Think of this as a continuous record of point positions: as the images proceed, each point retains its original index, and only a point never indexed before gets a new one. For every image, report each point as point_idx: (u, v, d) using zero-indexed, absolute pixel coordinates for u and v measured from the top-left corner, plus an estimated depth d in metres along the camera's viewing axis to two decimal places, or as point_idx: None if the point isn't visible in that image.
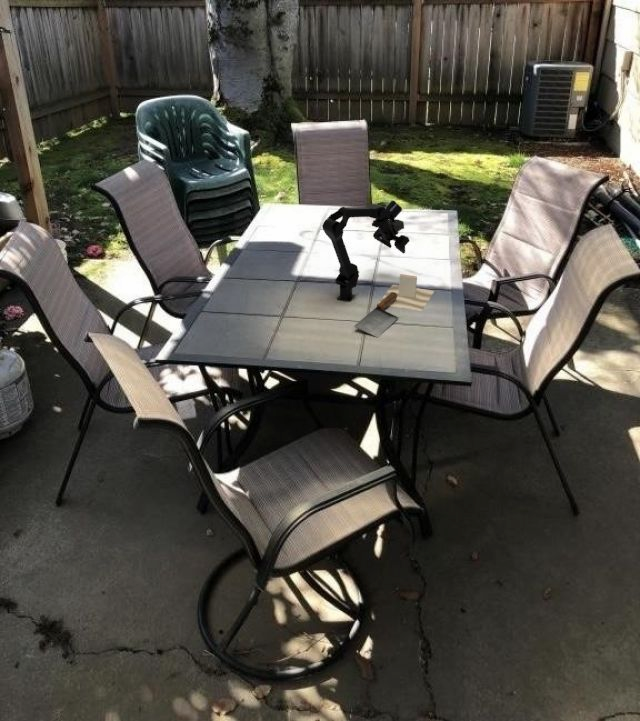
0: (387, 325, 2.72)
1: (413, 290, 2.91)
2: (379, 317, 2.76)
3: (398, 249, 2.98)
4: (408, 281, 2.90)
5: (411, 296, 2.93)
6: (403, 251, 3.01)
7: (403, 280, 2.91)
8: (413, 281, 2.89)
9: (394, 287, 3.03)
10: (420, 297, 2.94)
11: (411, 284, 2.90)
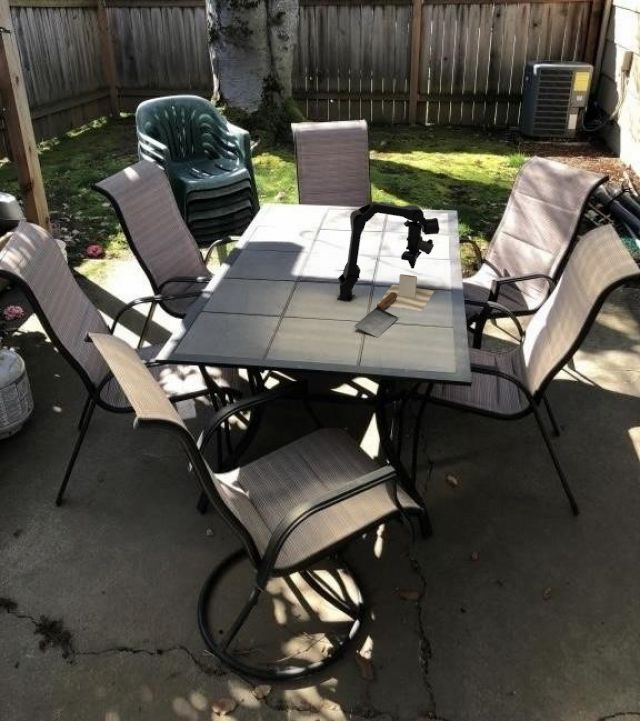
0: (387, 325, 2.72)
1: (413, 290, 2.91)
2: (379, 317, 2.76)
3: None
4: (408, 281, 2.90)
5: (411, 296, 2.93)
6: (411, 265, 2.94)
7: (403, 280, 2.91)
8: (413, 281, 2.89)
9: (394, 287, 3.03)
10: (420, 297, 2.94)
11: (411, 284, 2.90)
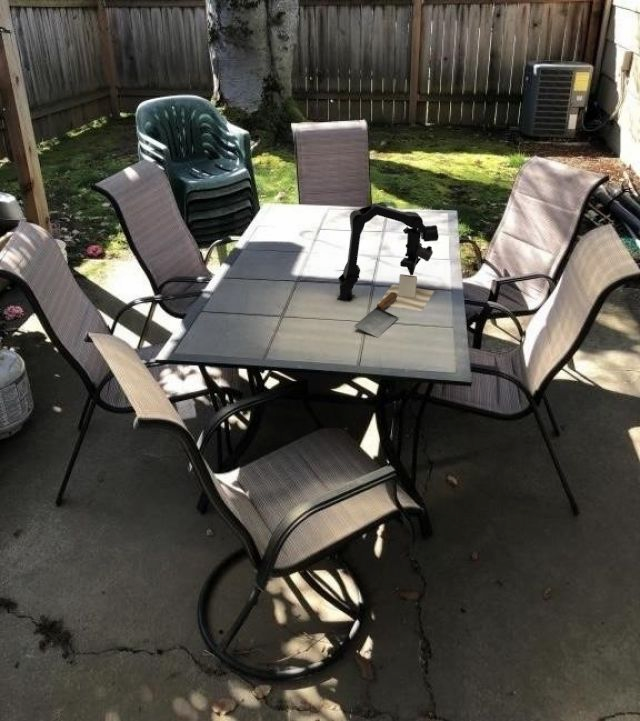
0: (387, 325, 2.72)
1: (413, 290, 2.91)
2: (379, 317, 2.76)
3: None
4: (408, 281, 2.90)
5: (411, 296, 2.93)
6: (410, 272, 2.94)
7: (403, 280, 2.91)
8: (413, 281, 2.89)
9: (394, 287, 3.03)
10: (420, 297, 2.94)
11: (411, 284, 2.90)
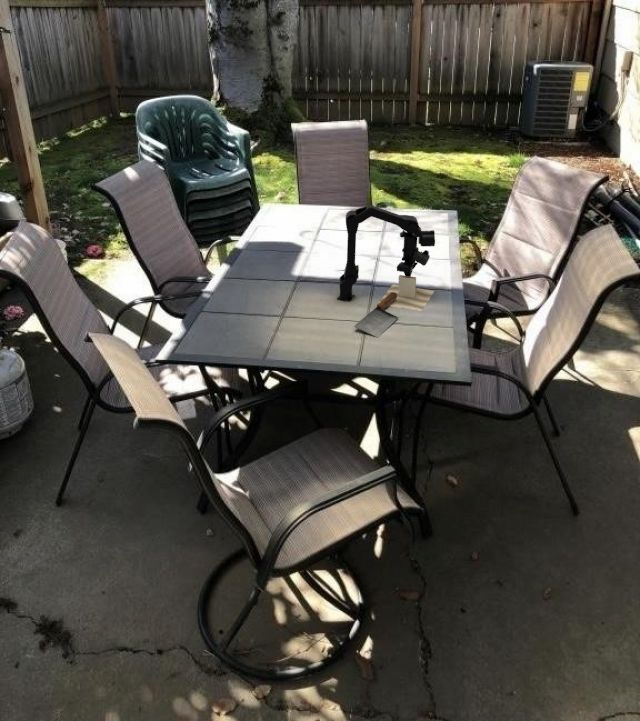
0: (387, 325, 2.72)
1: (413, 291, 2.91)
2: (379, 317, 2.76)
3: None
4: (407, 282, 2.89)
5: (411, 296, 2.93)
6: None
7: (402, 281, 2.90)
8: (412, 282, 2.88)
9: (394, 287, 3.03)
10: (420, 297, 2.94)
11: (410, 285, 2.90)
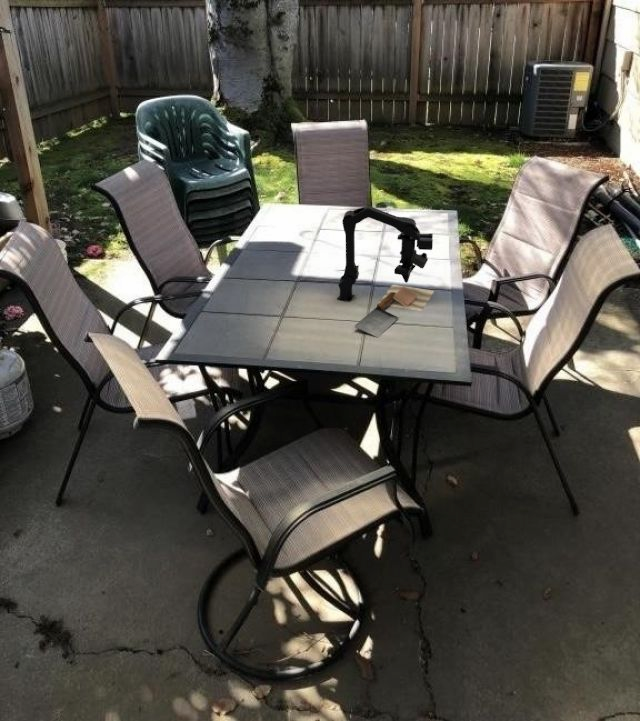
0: (387, 325, 2.72)
1: None
2: (380, 317, 2.76)
3: None
4: None
5: None
6: (405, 279, 2.88)
7: None
8: None
9: (394, 287, 3.03)
10: (420, 297, 2.94)
11: None
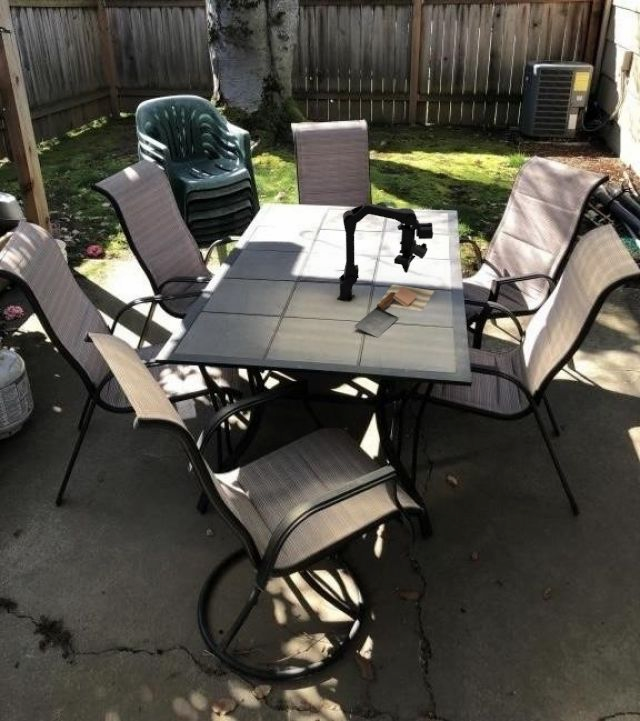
0: (387, 325, 2.72)
1: None
2: (380, 317, 2.76)
3: None
4: None
5: None
6: (404, 269, 2.90)
7: None
8: None
9: (394, 287, 3.03)
10: (420, 297, 2.94)
11: None
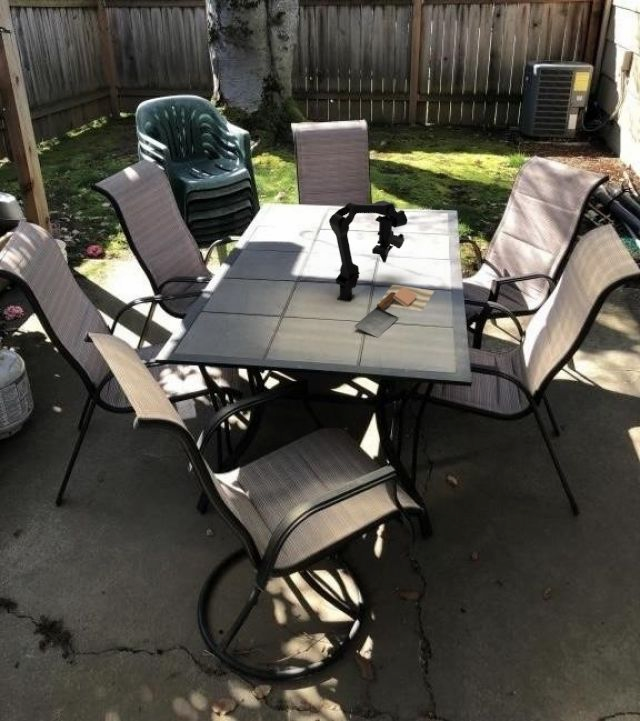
0: (387, 325, 2.72)
1: None
2: (380, 317, 2.76)
3: None
4: None
5: None
6: (383, 259, 3.00)
7: None
8: None
9: (394, 287, 3.03)
10: (420, 297, 2.94)
11: None
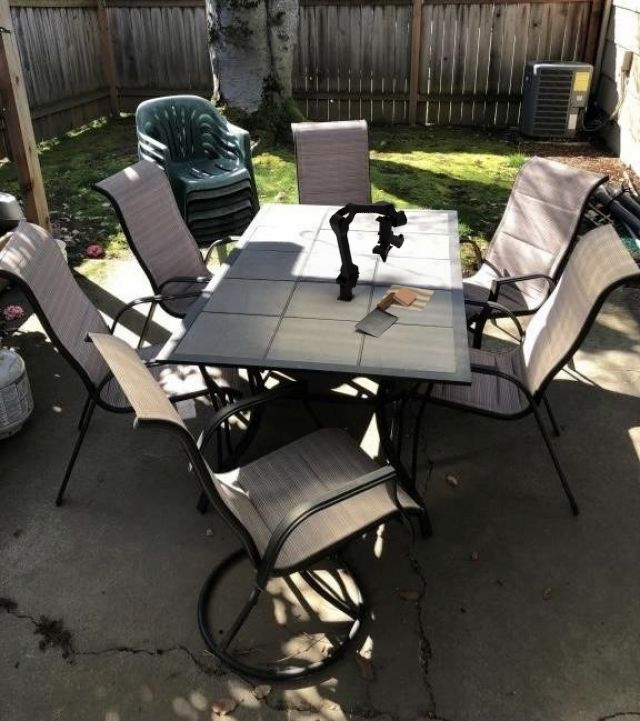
0: (387, 325, 2.72)
1: None
2: (380, 317, 2.76)
3: None
4: None
5: None
6: (383, 259, 3.00)
7: None
8: None
9: (394, 287, 3.03)
10: (420, 297, 2.94)
11: None
